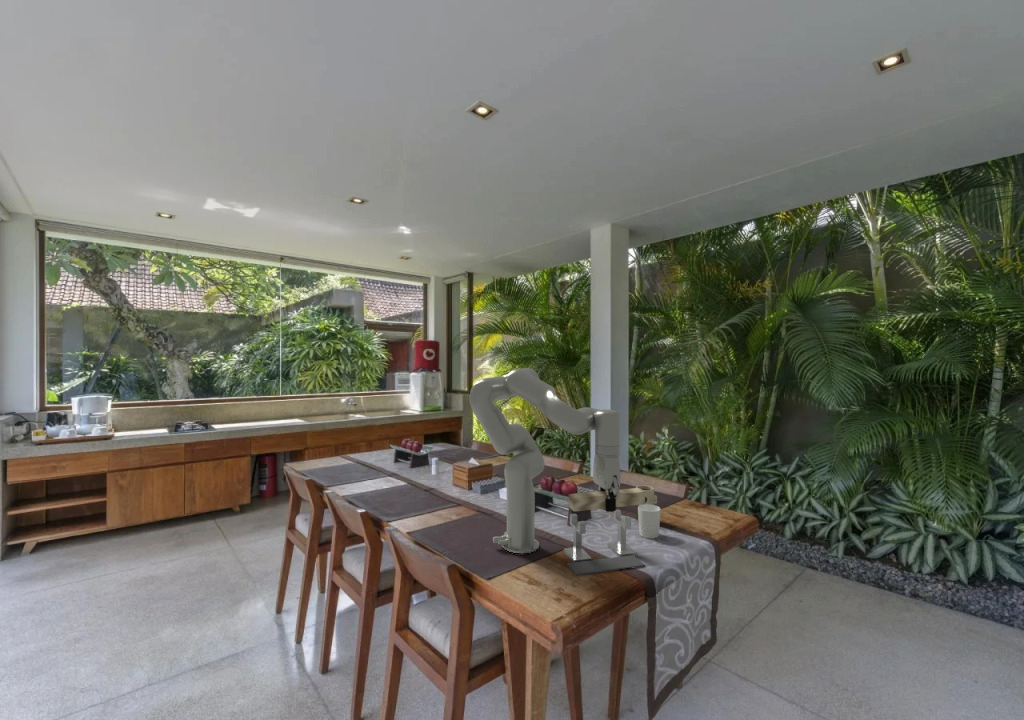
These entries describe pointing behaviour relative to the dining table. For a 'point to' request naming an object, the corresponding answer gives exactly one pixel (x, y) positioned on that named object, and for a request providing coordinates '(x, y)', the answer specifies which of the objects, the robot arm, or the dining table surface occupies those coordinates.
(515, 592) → the dining table surface
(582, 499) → the rail
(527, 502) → the robot arm
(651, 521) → the white cup
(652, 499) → the character mug
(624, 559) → the mat
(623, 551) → the hook stands
